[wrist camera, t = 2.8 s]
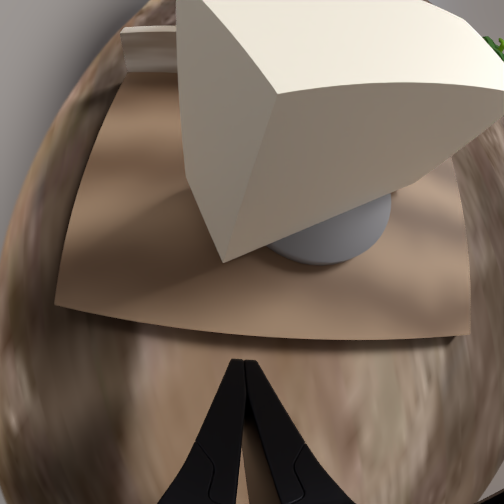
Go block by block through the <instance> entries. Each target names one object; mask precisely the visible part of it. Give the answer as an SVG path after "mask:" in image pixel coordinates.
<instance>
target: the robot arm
mask: <svg viewBox="0 0 504 504" xmlns="http://www.w3.org/2000/svg"><path fill="white" fill-rule="evenodd" d="M304 443H305V441H304V439H303V438H302V436H301V435H300V433H299V431H298V430H297V428H296V427H295V425H294V423H293V422H292V420H291V418H290V417H289V415H288V413H287V412H286V410H285V408H284V407H283V405H282V403H281V402H280V400H279V398H278V397H277V395H276V393H275V392H274V390H273V388H272V386H271V385H270V383H269V381H268V380H267V378H266V376H265V374H264V373H263V371H262V369H261V367H260V366H259V364H258V362H257V361H256V360H244V361H243V360H242V359H231V361H230V363H229V365H228V367H227V370H226V372H225V374H224V377H223V379H222V381H221V384H220V386H219V388H218V391H217V393H216V395H215V397H214V400H213V402H212V404H211V407H210V409H209V411H208V413H207V416H206V418H205V420H204V422H203V425H202V427H201V429H200V431H199V434H198V436H197V438H196V440H195V442H194V444H193V447H192V449H191V451H190V453H189V455H188V457H187V459H186V461H185V463H184V465H183V466H182V468H181V470H180V471H179V473H178V474H177V476H176V477H175V479H174V480H173V482H172V483H171V485H170V486H169V488H168V489H167V490H166V492H165V493H164V495H163V496H162V497H161V499H160V500H159V502H158V503H157V504H236V496H237V486H238V476H239V467H240V457H241V447H242V451H243V459H244V467H245V474H246V482H247V489H248V496H249V504H356V503H354V502H353V501H352V500H351V499H350V498H349V497H348V496H347V495H346V494H345V492H344V491H343V490H342V489H341V488H340V487H339V486H338V485H337V484H336V483H335V481H334V480H333V479H332V478H331V477H330V476H329V475H328V473H327V472H326V471H325V470H324V468H323V467H322V466H321V465H320V463H319V462H318V461H317V459H316V458H315V456H314V455H313V453H312V452H311V450H310V449H309V447H308V446H307V444H304ZM474 504H504V489H502V490H500V491H498V492H496V493H495V494H493V495H491V496H489V497H487V498H485V499H483V500H481V501H479V502H477V503H474Z"/></svg>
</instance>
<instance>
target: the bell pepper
mask: <svg viewBox="0 0 504 504" xmlns="http://www.w3.org/2000/svg"><path fill="white" fill-rule="evenodd" d="M482 38H483V39H484V40H485V41H486V42H487V43H488V45H489V46H490V47H491V48H492V49H493V50H494V51H495V52H496V54H497V55H498V56H499V57H500V58H501V60H502V61H503V62H504V54H503V53H502V51H503V49H504V40H503V39H501V38H499V42H500V43H501V45H500V46H498V45H495V44H494V42H493V40H492V39H490V38H489V37H488V36H486V37H482Z"/></svg>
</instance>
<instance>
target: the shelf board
mask: <svg viewBox="0 0 504 504" xmlns="http://www.w3.org/2000/svg"><path fill="white" fill-rule="evenodd" d="M120 37H121V42H122V47H123V52H124V57H125V62H126V66H127V71H128V73H127V75H126V77H125V78H124V80H123V82H122V84H121V86H120V88H119V90H118V92H117V94H116V96H115V98H114V100H113V102H112V104H111V107H110V109H109V111H108V113H107V115H106V117H105V120H104V122H103V124H102V127H101V129H100V131H99V134H98V136H97V139H96V141H95V144H94V146H93V149H92V152H91V154H90V157H89V160H88V163H87V165H86V168H85V171H84V174H83V177H82V180H81V183H80V186H79V190H78V193H77V196H76V200H75V203H74V207H73V210H72V214H71V218H70V222H69V226H68V230H67V234H66V238H65V243H64V248H63V252H62V258H61V263H60V268H59V274H58V280H57V287H56V294H55V302H54V305H57V306H61V307H66V308H70V309H74V310H79V311H84V312H88V313H93V314H98V315H103V316H108V317H114V318H119V319H125V320H130V321H136V322H142V323H149V324H155V325H162V326H169V327H176V328H183V329H191V330H200V331H208V332H218V333H227V334H238V335H250V336H263V337H279V338H298V339H328V340H385V339H414V338H431V337H446V336H458V335H468V334H470V322H471V290H470V269H469V256H468V246H467V237H466V229H465V222H464V216H463V210H462V204H461V199H460V193H459V189H458V184H457V179H456V175H455V171H454V167H453V163H452V159H451V157H449V158H448V159H447V160H445V161H444V162H442V163H441V164H440V165H438V166H437V167H436V168H434V169H433V170H432V171H430V172H429V173H427V174H426V175H425V176H423V177H422V178H421V179H419V180H418V181H416V182H415V183H413V184H411V185H408V186H406V187H403V188H401V189H399V190H396V191H394V192H392V193H391V211H390V216H389V220H388V223H387V225H386V228H385V230H384V232H383V233H382V235H381V237H380V238H379V239H378V240H377V242H376V243H375V244H374V245H373V246H372V247H371V248H369V249H368V250H367V251H365V252H364V253H362V254H360V255H358V256H356V257H354V258H352V259H349V260H347V261H345V262H342V263H338V264H334V265H324V266H320V265H309V264H303V263H299V262H296V261H293V260H290V259H288V258H286V257H283V256H281V255H279V254H277V253H276V252H274V251H273V250H271V249H270V248H268V247H267V246H266V245H265V246H263V247H261V248H258V249H256V250H254V251H251V252H249V253H246V254H244V255H242V256H239V257H237V258H235V259H232V260H230V261H227V262H225V263H223V262H222V260H221V258H220V255H219V253H218V251H217V249H216V246H215V244H214V242H213V239H212V237H211V235H210V233H209V230H208V228H207V226H206V223H205V221H204V219H203V216H202V214H201V212H200V209H199V207H198V205H197V202H196V200H195V197H194V195H193V193H192V190H191V188H190V186H189V183H188V181H187V178H186V174H185V164H184V154H183V143H182V131H181V119H180V105H179V89H178V69H177V41H176V26H141V27H125V28H124V29H123V30H122V31H121V32H120Z"/></svg>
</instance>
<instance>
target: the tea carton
mask: <svg viewBox="0 0 504 504" xmlns="http://www.w3.org/2000/svg"><path fill="white" fill-rule="evenodd" d="M176 41H177V69H178V89H179V105H180V119H181V131H182V143H183V154H184V164H185V174H186V178H187V181H188V183H189V186H190V188H191V190H192V193H193V195H194V197H195V200H196V202H197V205H198V207H199V209H200V212H201V214H202V216H203V219H204V221H205V223H206V226H207V228H208V230H209V233H210V235H211V237H212V239H213V242H214V244H215V246H216V249H217V251H218V253H219V255H220V258H221V260H222V262H223V263H225V262H227V261H230V260H232V259H235V258H237V257H239V256H242V255H244V254H246V253H249V252H251V251H254V250H256V249H258V248H261V247H263V246H265V245H266V246H267V247H268V248H270V249H271V250H273V251H274V252H276V253H277V254H279V255H281V256H283V257H286V258H288V259H290V260H293V261H296V262H299V263H303V264H309V265H320V266H324V265H334V264H338V263H342V262H345V261H347V260H349V259H352V258H354V257H356V256H358V255H360V254H362V253H364V252H365V251H367V250H368V249H369V248H371V247H372V246H373V245H374V244H375V243H376V242H377V240H378V239H379V238H380V237H381V235H382V233H383V232H384V230H385V228H386V225H387V223H388V220H389V216H390V211H391V193H392V192H394V191H396V190H399V189H401V188H403V187H406V186H408V185H411V184H413V183H415V182H416V181H418V180H419V179H421V178H422V177H423V176H425V175H426V174H427V173H429V172H430V171H432V170H433V169H434V168H436V167H437V166H438V165H440V164H441V163H442V162H444V161H445V160H447V159H448V158H449V157H451V156H452V155H453V154H455V153H456V152H457V151H459V150H460V149H461V148H463V147H464V146H465V145H467V144H468V143H469V142H470V141H472V140H473V139H474V138H476V137H477V136H478V135H480V134H481V133H482V132H483V131H485V130H486V129H487V128H489V127H490V126H491V125H492V124H494V123H495V122H496V121H497V120H499V119H500V118H501V117H503V116H504V62H503V61H502V60H501V58H500V57H499V56H498V55H497V54H496V52H495V51H494V50H493V49H492V48H491V47H490V46H489V45H488V43H487V42H486V41H485V40H484V39H483V38H482V37H481V36H480V35H479V34H478V33H477V32H476V31H475V30H474V29H473V28H472V27H471V26H470V25H469V24H468V23H467V22H466V21H465V20H463V19H462V18H460V17H458V16H456V15H454V14H452V13H449V12H447V11H445V10H443V9H441V8H439V7H436V6H434V5H432V4H429V3H427V2H424V1H422V0H176Z"/></svg>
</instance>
